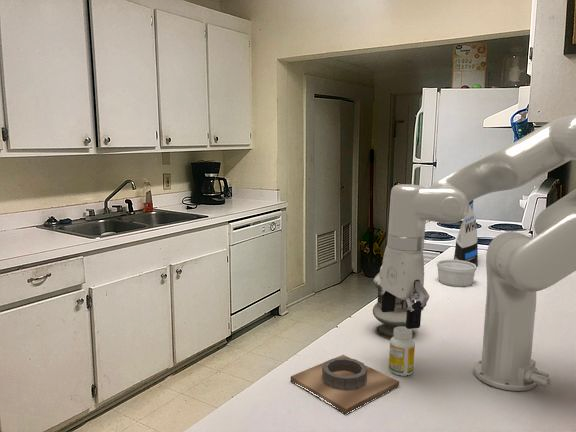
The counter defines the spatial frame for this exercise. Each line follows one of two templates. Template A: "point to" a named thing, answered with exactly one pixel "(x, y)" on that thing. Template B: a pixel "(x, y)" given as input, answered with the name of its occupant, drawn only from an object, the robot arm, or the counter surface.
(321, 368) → the stand board
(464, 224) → the protein powder
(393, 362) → the supplement bottle
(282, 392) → the counter surface
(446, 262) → the ramekin
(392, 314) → the apothecary jar
